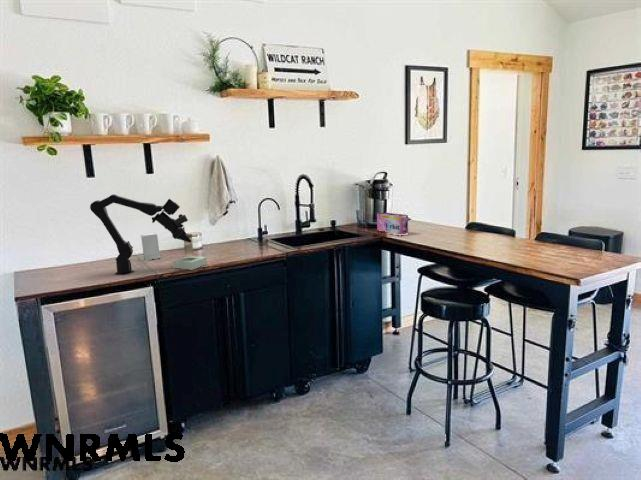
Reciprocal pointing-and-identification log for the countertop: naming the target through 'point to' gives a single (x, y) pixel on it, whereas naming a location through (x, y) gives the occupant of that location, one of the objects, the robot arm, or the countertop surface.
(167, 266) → the countertop surface
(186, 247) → the peg
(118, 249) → the robot arm
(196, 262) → the socket block
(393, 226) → the gum box
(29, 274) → the countertop surface
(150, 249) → the skincare box
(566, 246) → the countertop surface
